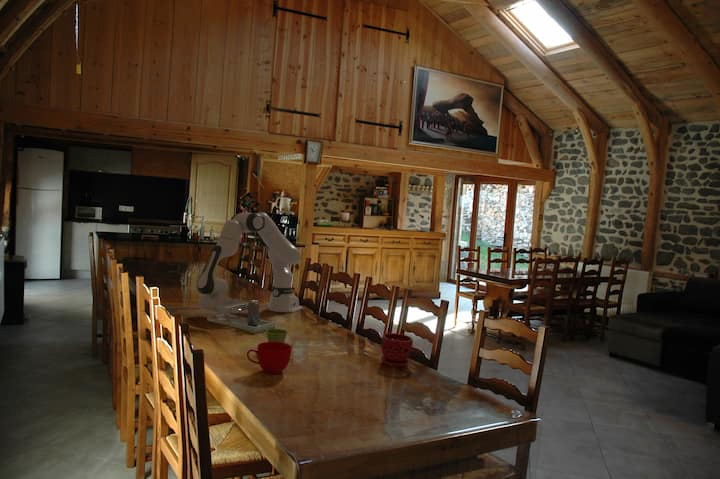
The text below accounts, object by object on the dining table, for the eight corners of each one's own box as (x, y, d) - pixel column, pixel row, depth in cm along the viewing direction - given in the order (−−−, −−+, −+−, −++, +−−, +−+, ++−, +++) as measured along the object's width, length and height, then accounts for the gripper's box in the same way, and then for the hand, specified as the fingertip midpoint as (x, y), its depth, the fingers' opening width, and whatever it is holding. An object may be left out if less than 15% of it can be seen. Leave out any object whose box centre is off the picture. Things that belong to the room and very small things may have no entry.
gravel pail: (251, 324, 279) (253, 298, 278) (260, 326, 276) (262, 300, 276) (244, 326, 274) (246, 299, 273) (253, 328, 272) (255, 301, 271)
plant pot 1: (284, 354, 233) (285, 334, 233) (262, 353, 233) (264, 333, 233) (287, 349, 243) (289, 329, 242) (266, 347, 243) (268, 328, 242)
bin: (250, 323, 286) (250, 317, 286) (274, 328, 279) (275, 322, 279) (229, 328, 272) (230, 322, 272) (255, 333, 265) (255, 327, 264)
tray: (225, 318, 293) (226, 312, 292) (246, 322, 286) (246, 316, 286) (207, 322, 280) (207, 315, 280) (227, 327, 274) (228, 320, 274)
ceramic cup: (243, 367, 212) (244, 342, 211) (285, 365, 218) (287, 341, 217) (248, 378, 200) (250, 351, 199) (293, 376, 206) (295, 350, 205)
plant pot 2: (385, 369, 224) (387, 340, 223) (376, 359, 237) (378, 332, 236) (415, 368, 228) (417, 340, 227) (404, 359, 240) (406, 332, 239)
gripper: (211, 302, 274) (232, 306, 268) (238, 297, 292) (258, 301, 286) (210, 314, 274) (231, 319, 268) (237, 309, 293) (257, 313, 286)
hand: (245, 310), depth 277 cm, fingers open, 8 cm apart
